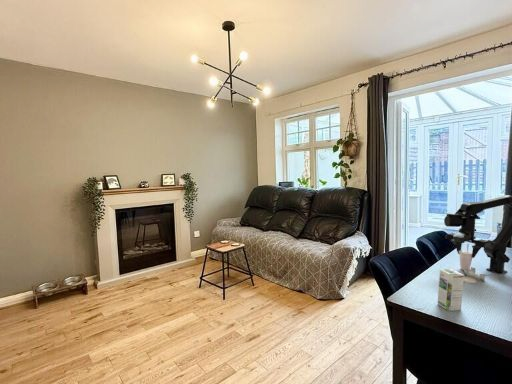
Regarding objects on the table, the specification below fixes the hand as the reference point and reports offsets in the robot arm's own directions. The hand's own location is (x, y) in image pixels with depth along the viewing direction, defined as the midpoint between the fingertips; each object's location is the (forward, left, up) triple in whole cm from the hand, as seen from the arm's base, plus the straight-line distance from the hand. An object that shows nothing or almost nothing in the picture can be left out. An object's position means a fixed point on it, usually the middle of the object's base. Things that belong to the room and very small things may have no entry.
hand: (465, 255), depth 145 cm
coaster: (+14, +8, -8) cm, 17 cm away
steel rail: (+5, +8, -7) cm, 12 cm away
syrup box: (+48, +21, -8) cm, 53 cm away
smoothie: (0, 0, -8) cm, 8 cm away
